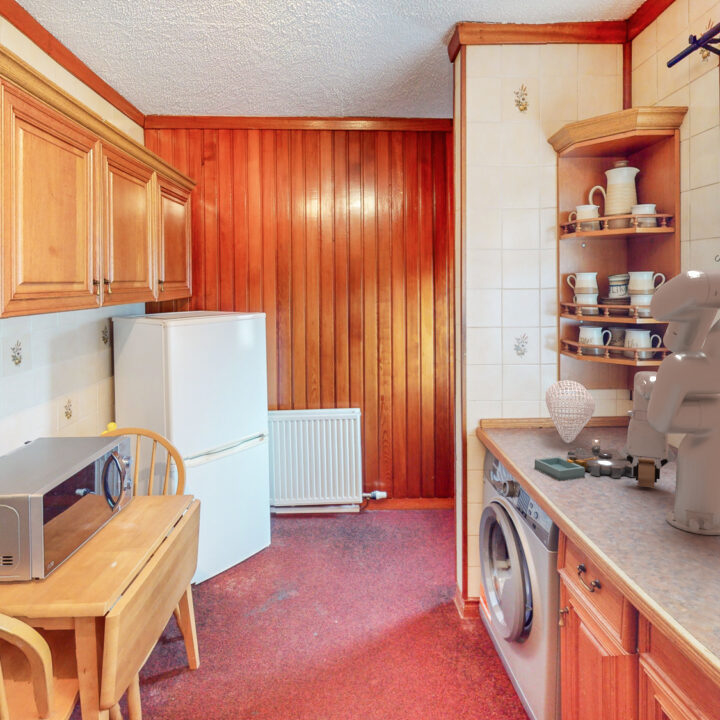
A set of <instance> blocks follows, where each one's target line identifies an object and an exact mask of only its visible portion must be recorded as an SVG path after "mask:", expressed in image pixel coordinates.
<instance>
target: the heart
mask: <svg viewBox="0 0 720 720" xmlns="http://www.w3.org/2000/svg"><path fill="white" fill-rule="evenodd" d="M570 392H571V393H570ZM574 392H575V394H574ZM563 397H564V398H563ZM570 397H571V398H570ZM595 403H596V402H595V399H594V398H593V396H592V394H591V393H589V392H588V390H587V389H586V387H585V386H584V385H583V384H581V383H579V382H577V381H574V380H571V379H570V380H569V379H565V380H558V381H556V382H554V383H552V384H551V385H550V386H549V387H548V388H547V390H546V393H545V404H546V407H547V411H548V413H549V415H550V418H551V420H552V422H553V425H554V427H555V428H556V430H557V432H558V434H559V435H560V437H561V439H562V440H563V441H564V442H565V443H567V444H570V443H572V442H574V440H575V439H576V438H577V436H578V435H579V434H580V432H581V431H582V430H583V428H584V427H585V426H586V425H587V423H589V421H590V420H591V419H592V417H593V415H594V413H595V407H596V404H595ZM563 411H564V412H563ZM567 411H568V412H567ZM570 411H571V412H570ZM563 415H564V416H563ZM570 415H571V417H570Z"/></svg>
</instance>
